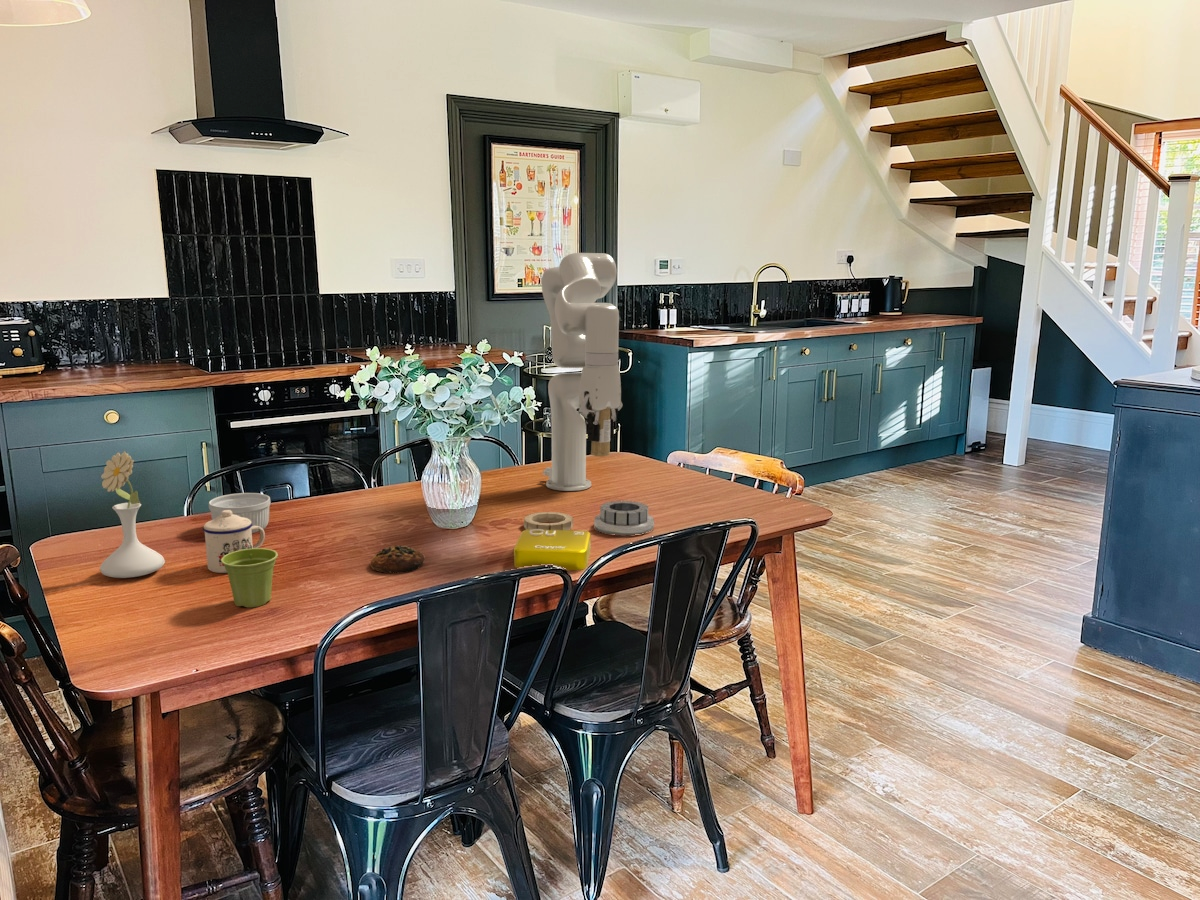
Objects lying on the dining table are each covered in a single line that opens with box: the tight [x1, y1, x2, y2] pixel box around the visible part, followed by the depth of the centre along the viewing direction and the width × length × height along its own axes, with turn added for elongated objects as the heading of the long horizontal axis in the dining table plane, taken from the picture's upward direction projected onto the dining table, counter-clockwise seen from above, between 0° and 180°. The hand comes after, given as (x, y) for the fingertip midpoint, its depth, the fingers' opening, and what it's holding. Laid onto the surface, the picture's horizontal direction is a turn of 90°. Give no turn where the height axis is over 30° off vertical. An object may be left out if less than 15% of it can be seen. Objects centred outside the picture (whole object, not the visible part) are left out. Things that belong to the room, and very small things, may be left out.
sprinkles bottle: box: [590, 401, 611, 458], centre depth 203 cm, size 5×5×13 cm
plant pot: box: [221, 547, 279, 609], centre depth 159 cm, size 9×9×9 cm
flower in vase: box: [99, 451, 166, 579], centre depth 171 cm, size 13×11×25 cm
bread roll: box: [370, 544, 425, 574], centre depth 180 cm, size 11×11×5 cm
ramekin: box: [208, 492, 272, 534], centre depth 203 cm, size 13×13×7 cm
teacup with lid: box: [202, 510, 266, 574], centre depth 178 cm, size 12×9×12 cm
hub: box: [593, 500, 655, 535], centre depth 207 cm, size 14×14×5 cm
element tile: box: [513, 529, 592, 571], centre depth 185 cm, size 15×15×5 cm
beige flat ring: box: [523, 511, 574, 530], centre depth 208 cm, size 11×11×2 cm
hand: (600, 438), depth 204 cm, fingers closed on sprinkles bottle, 4 cm apart
